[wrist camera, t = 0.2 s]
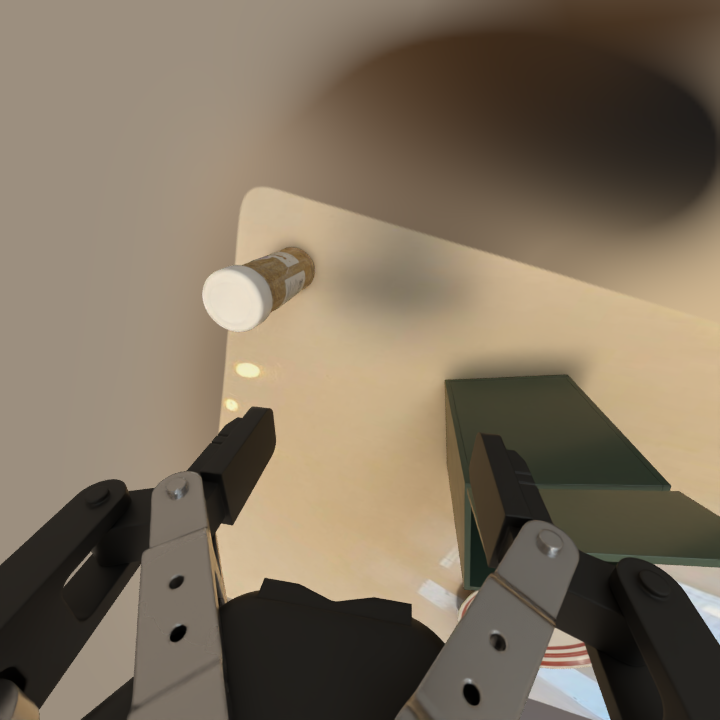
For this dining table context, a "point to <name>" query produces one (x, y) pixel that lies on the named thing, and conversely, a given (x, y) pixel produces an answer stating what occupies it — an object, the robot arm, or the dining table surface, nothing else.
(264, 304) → the sprinkles bottle
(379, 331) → the dining table surface
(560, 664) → the dinner plate
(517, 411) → the chute
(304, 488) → the dining table surface
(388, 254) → the dining table surface
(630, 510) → the chute flap
